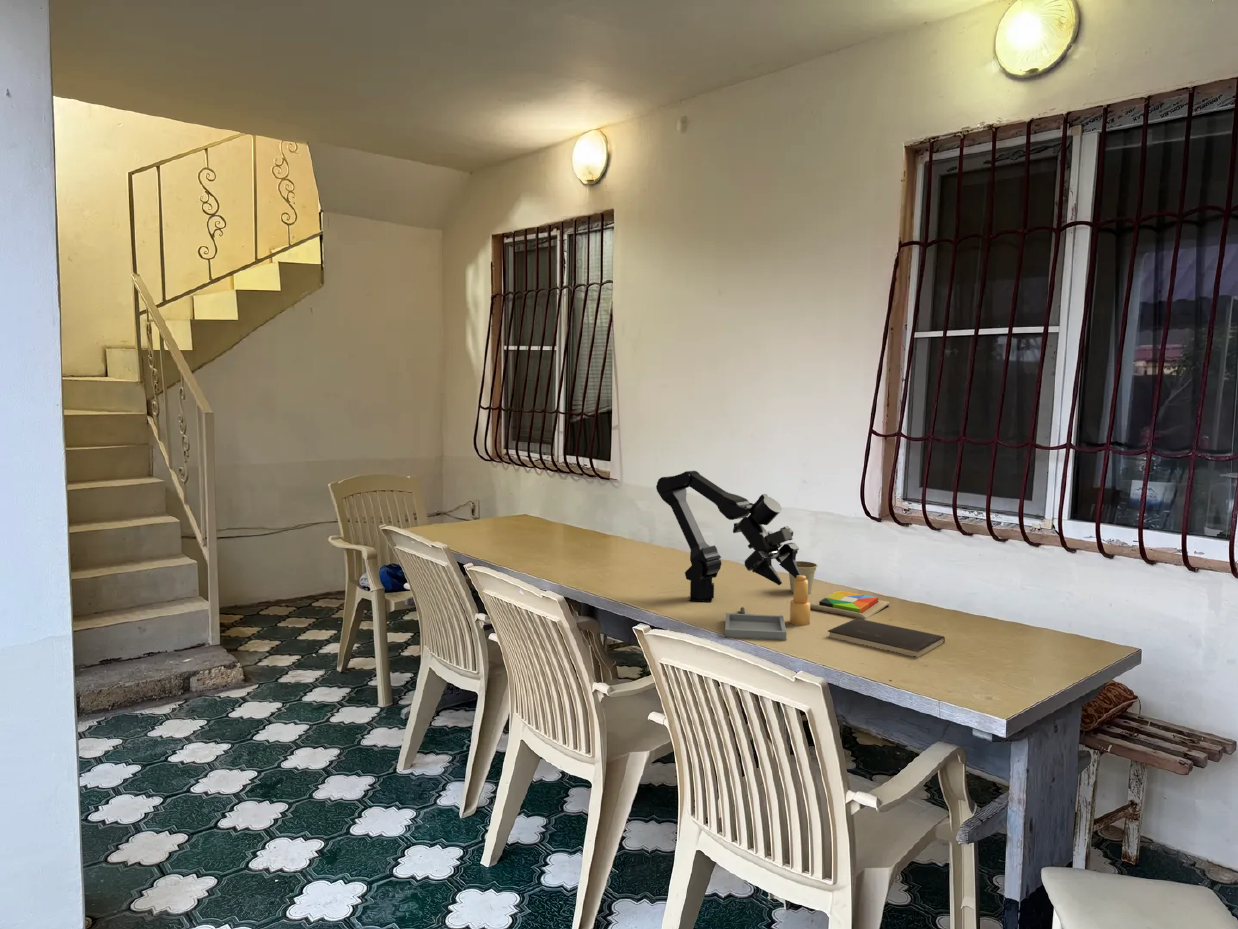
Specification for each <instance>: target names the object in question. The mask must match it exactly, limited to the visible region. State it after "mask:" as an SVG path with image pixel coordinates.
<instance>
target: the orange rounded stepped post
mask: <svg viewBox="0 0 1238 929" xmlns="http://www.w3.org/2000/svg"><path fill="white" fill-rule="evenodd" d="M808 596H809V595H808V580H807V579H806V576H803V575H797V577H796V579H794V593H793V599H792V600H790V602H789V603H790V605H789V606H790V607H789V623H790V624H792V625H796V626H808V625H810V622H811V609H810V604H811V601H809V600H808Z"/></svg>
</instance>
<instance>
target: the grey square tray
mask: <svg viewBox="0 0 1238 929" xmlns="http://www.w3.org/2000/svg"><path fill="white" fill-rule="evenodd" d="M724 624H725V627H724V638H731V639H732V638H733V639H734V638H735V639H749V638H754V639H755V640H770V639H773V640H774V641H776V640H777V639H778V640H777V641H787V628H786V625H785V620H784V616H783V615H777V614H776V615H774V614H749V613H745V614H740V613H729V612H727V613H726V612H725V623H724ZM773 640H772V641H773Z"/></svg>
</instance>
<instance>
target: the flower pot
mask: <svg viewBox="0 0 1238 929" xmlns="http://www.w3.org/2000/svg"><path fill="white" fill-rule="evenodd" d="M796 563H797V566H798V569H799V572H800V575H803V576H806V579H807V580H808V594H809V595H810V594H812V591H813V585H814V584H813V583H814V580H815V574H816V572H817V571H816V570H817V568H818V566H819V565H818V564H817V563H815V562H811V561H804V560H796ZM788 575H789V577H788V578H789V585H790V592H792V593H793V594H794V579H796V578H795V577H794V576H792V575H791V574H790V573H789V572H788Z"/></svg>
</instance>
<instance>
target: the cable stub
mask: <svg viewBox="0 0 1238 929" xmlns="http://www.w3.org/2000/svg"><path fill="white" fill-rule="evenodd" d="M739 612H740V613H739V614H746V610H745V607H743V606H741V607H740V611H739Z"/></svg>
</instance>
